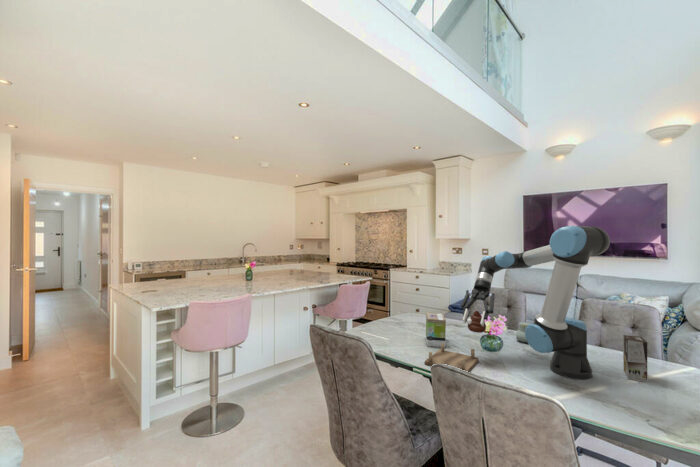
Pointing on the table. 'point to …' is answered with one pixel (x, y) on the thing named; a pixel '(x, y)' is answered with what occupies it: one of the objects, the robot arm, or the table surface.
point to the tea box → (435, 329)
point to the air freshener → (522, 332)
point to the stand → (452, 359)
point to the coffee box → (635, 358)
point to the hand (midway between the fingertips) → (472, 323)
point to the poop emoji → (476, 323)
